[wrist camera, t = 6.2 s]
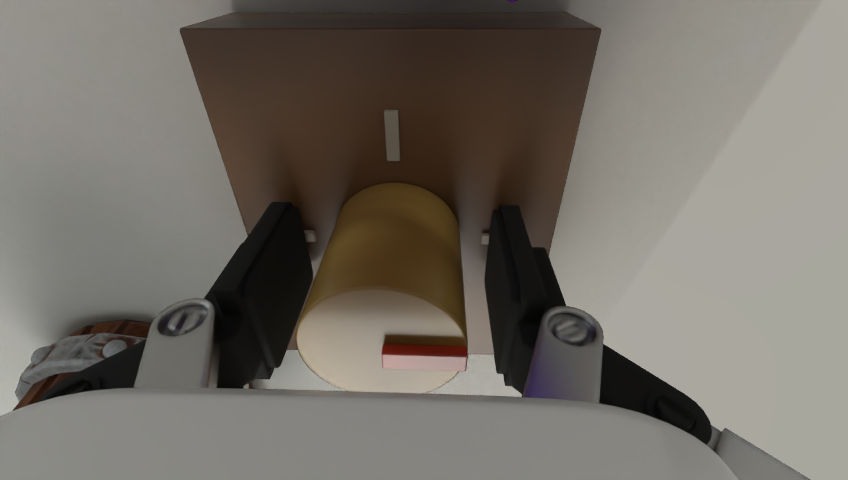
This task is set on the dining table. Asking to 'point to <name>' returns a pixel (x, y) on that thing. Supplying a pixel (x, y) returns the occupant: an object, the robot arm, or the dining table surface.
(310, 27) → the volume box
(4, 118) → the dining table surface
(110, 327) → the mug
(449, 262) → the volume knob
